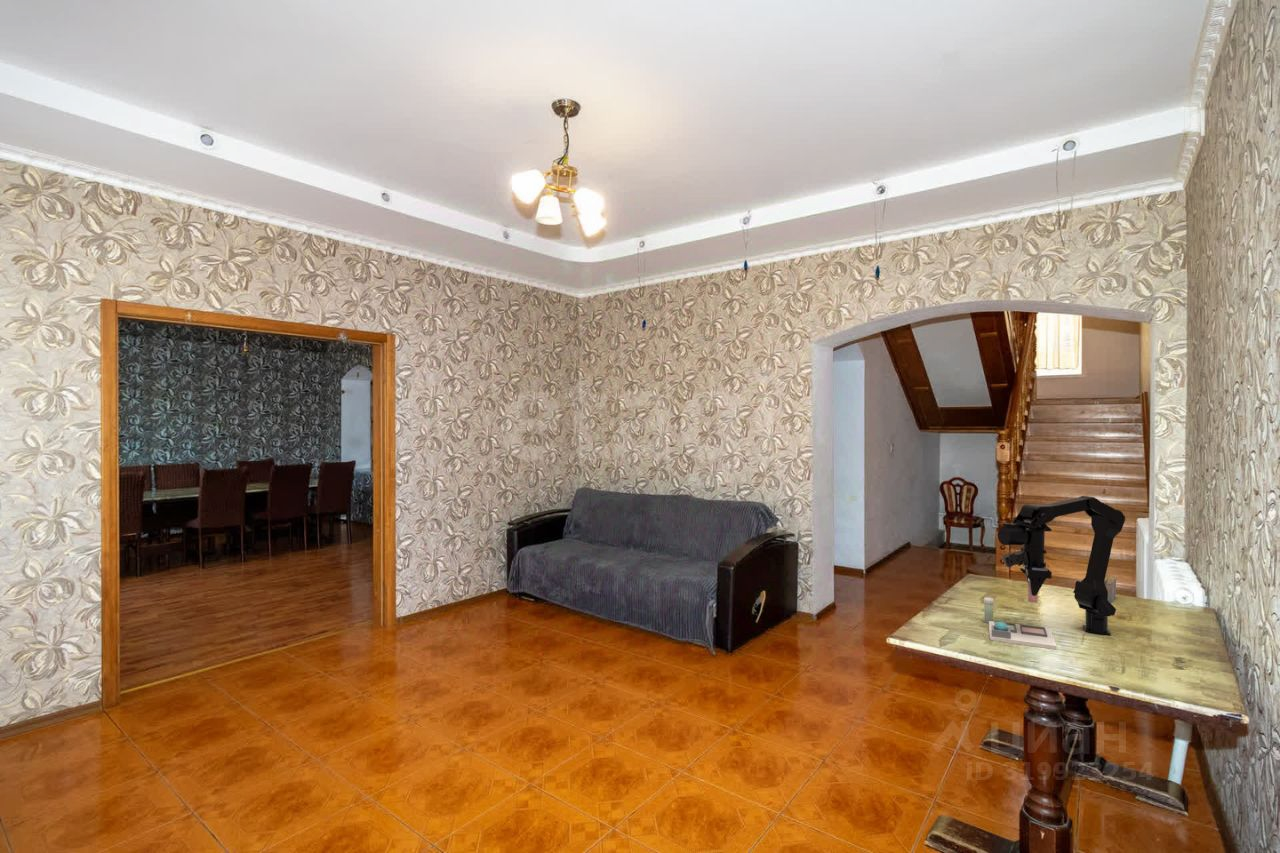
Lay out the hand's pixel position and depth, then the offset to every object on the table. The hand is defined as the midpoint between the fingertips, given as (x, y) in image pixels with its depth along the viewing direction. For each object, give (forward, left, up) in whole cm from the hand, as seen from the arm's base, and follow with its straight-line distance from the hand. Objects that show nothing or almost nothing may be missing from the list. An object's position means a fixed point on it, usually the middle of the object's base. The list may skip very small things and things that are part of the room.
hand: (1032, 594), depth 195 cm
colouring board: (+4, -4, -12) cm, 14 cm away
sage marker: (-6, -12, -12) cm, 18 cm away
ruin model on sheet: (-57, +28, -13) cm, 65 cm away
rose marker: (0, 0, -2) cm, 2 cm away
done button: (+10, -9, -10) cm, 17 cm away
